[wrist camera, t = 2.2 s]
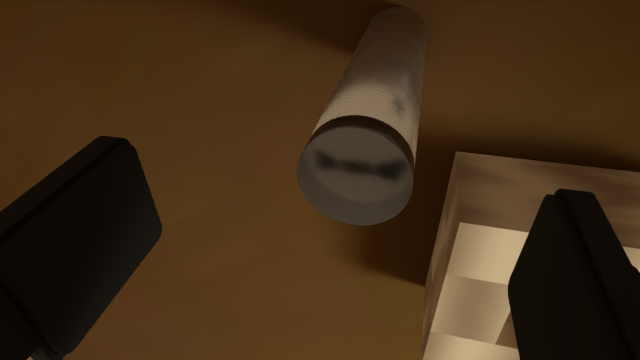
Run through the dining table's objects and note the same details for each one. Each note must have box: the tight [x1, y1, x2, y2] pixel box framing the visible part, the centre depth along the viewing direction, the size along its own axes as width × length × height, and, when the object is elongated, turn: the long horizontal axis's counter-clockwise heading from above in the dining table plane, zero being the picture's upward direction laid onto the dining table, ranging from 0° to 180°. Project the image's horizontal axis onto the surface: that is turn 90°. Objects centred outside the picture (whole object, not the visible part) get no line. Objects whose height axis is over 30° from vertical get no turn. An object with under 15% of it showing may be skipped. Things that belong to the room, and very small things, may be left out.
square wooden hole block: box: [422, 151, 640, 360], centre depth 22 cm, size 12×12×6 cm
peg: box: [297, 6, 427, 225], centre depth 15 cm, size 3×3×12 cm
